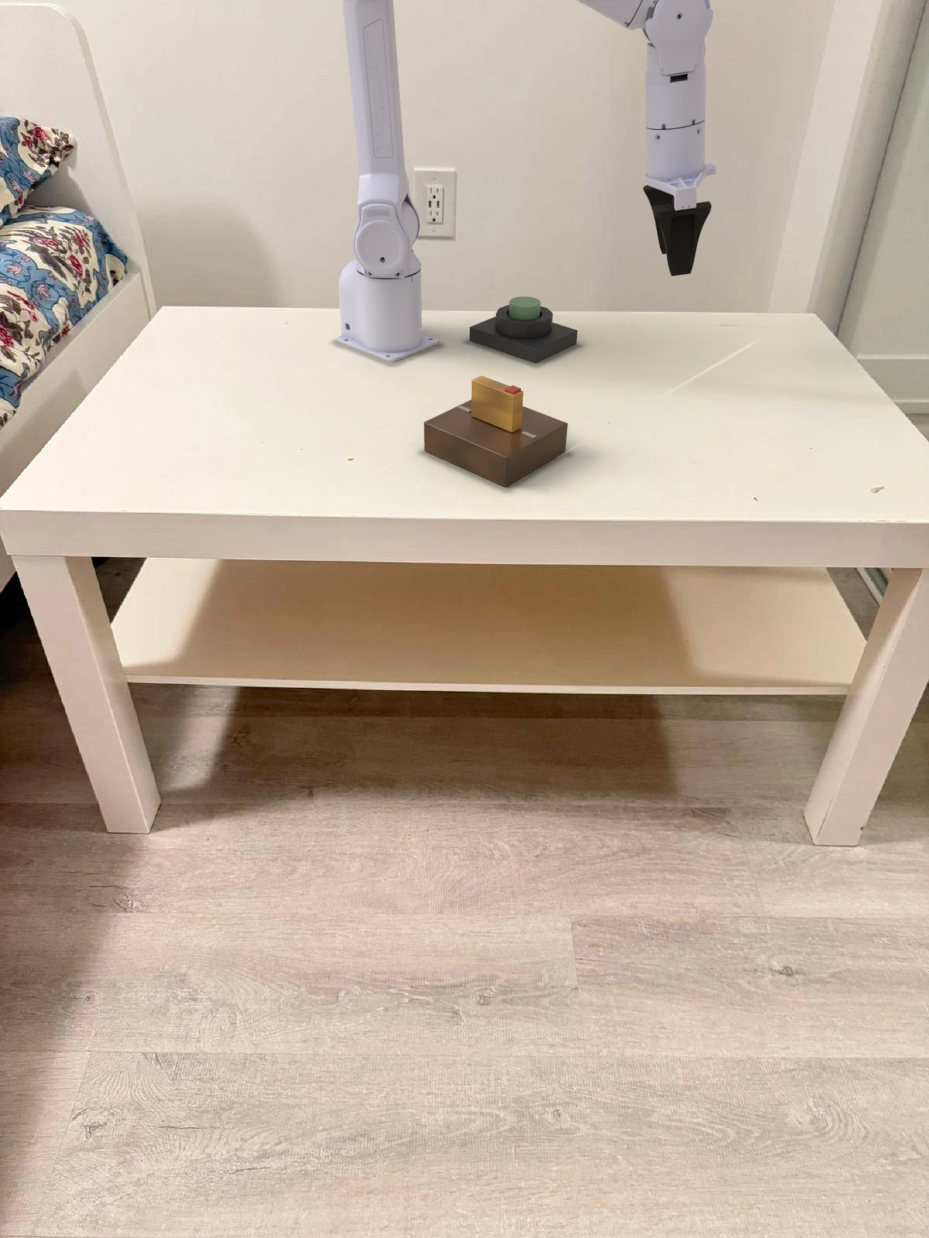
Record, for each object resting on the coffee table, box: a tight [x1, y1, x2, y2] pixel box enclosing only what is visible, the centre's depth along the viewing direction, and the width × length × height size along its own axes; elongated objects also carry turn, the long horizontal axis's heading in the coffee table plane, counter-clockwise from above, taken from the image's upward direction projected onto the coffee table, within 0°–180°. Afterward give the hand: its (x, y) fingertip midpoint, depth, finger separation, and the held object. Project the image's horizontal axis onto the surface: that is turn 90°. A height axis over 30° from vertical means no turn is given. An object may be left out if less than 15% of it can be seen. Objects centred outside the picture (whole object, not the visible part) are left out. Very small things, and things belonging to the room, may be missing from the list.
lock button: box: [508, 295, 542, 320], centre depth 102 cm, size 4×4×2 cm
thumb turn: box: [470, 375, 524, 432], centre depth 80 cm, size 5×1×4 cm, turn 48°
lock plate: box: [423, 399, 569, 488], centre depth 82 cm, size 10×9×3 cm
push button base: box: [468, 304, 579, 364], centre depth 103 cm, size 10×8×4 cm
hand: (675, 263), depth 96 cm, fingers open, 7 cm apart
